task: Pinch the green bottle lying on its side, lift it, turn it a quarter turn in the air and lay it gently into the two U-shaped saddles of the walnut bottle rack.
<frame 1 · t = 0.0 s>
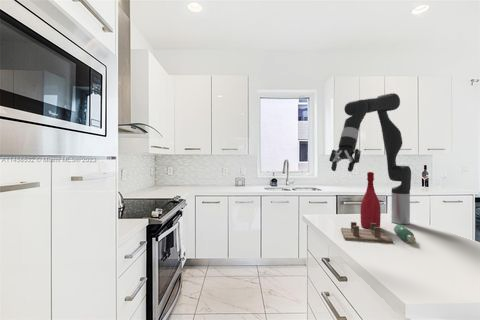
hand: (341, 170, 127), 31 cm above the worktop, tool tilted 20°, fingers open, 8 cm apart
walnut bottle rack: (364, 236, 131), on the worktop
wine bottle: (370, 227, 149), on the worktop
green bottle: (403, 232, 128), point 2 cm above the worktop
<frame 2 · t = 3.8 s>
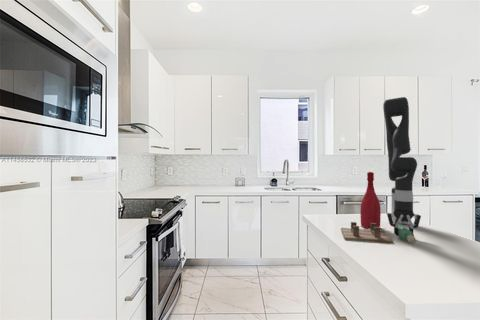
hand: (403, 235, 128), 1 cm above the worktop, tool pointing down, fingers closed on green bottle, 5 cm apart
green bottle: (403, 232, 128), point 2 cm above the worktop, touching gripper
everything else where it was.
when the fingers open (5 cm above the worktop, at t = 8.6 s): green bottle drops 1 cm, resting on walnut bottle rack.
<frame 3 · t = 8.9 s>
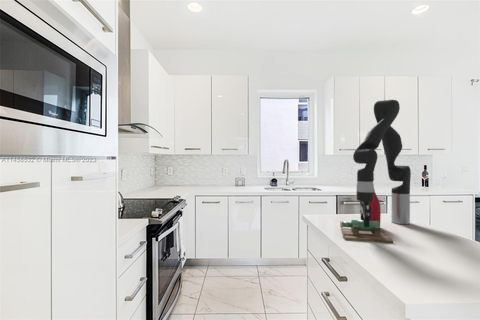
hand: (365, 224, 131), 6 cm above the worktop, tool pointing down, fingers open, 8 cm apart
green bottle: (365, 225, 131), point 5 cm above the worktop, touching walnut bottle rack
everything else where it was.
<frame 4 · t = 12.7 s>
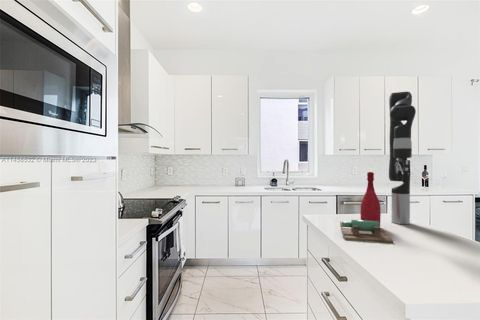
hand: (402, 181, 130), 26 cm above the worktop, tool pointing down, fingers open, 8 cm apart
nothing on the worktop moved.
at the end: green bottle 0.1 cm off-centre on the walnut bottle rack, point 5.0 cm above the walnut bottle rack's base; green bottle touching walnut bottle rack; the gripper is holding nothing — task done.
